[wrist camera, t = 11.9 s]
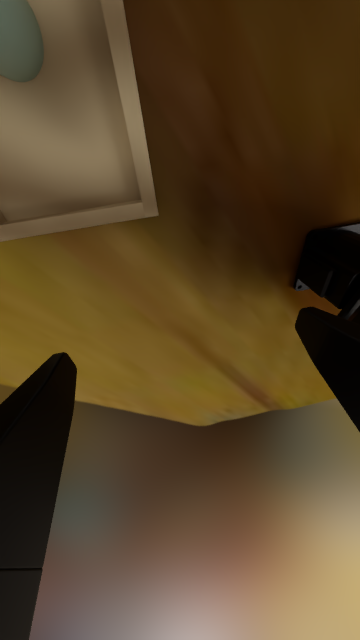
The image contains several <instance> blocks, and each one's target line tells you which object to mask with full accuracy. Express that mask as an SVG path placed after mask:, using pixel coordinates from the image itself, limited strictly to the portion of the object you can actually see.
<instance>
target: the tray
mask: <svg viewBox="0 0 360 640" xmlns="http://www.w3.org/2000/svg"><path fill="white" fill-rule="evenodd" d="M27 2H28V3H29V5H30V7H31V8H32V10H33V12H34V15H35V17H36V19H37V22H38V24H39V27H40V31H41V34H42V39H43V46H44V58H43V64H42V67H41V70H40V72H39V73H38V75H37V76H36V77H35V78H34V79H32V80H30V81H27V82H16V81H13V80H10V79H8V78H6V77H4V76H2V75H0V241H6V240H12V239H19V238H25V237H31V236H37V235H43V234H49V233H55V232H61V231H67V230H73V229H79V228H86V227H92V226H98V225H104V224H110V223H116V222H122V221H128V220H134V219H140V218H147V217H153V216H159V214H158V208H157V202H156V196H155V190H154V184H153V178H152V172H151V167H150V161H149V155H148V149H147V143H146V137H145V131H144V125H143V119H142V113H141V107H140V101H139V95H138V89H137V83H136V77H135V71H134V65H133V59H132V53H131V47H130V41H129V35H128V29H127V23H126V17H125V11H124V5H123V0H27Z"/></svg>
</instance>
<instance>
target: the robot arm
mask: <svg viewBox="0 0 360 640" xmlns="http://www.w3.org/2000/svg"><path fill="white" fill-rule="evenodd" d="M313 235H314V237H313ZM312 237H313V238H312ZM299 285H300V286H299ZM298 286H299V287H298ZM293 288H294V289H295V290H296V291H301V290H306V289H311V290H312V291H314V292H315V293H316V294H317V295H319V296H320V297H324V298H325V299H327V300H328V301H329V302H331V303H332V304H333V305H334V306H336V307H337V308H338V309H342V310H341V311H340V313H339V314H338V315H337V316H336V315H333V314H331V313H328V312H325V311H323V310H320V309H317V308H315V307H307V308H302V309H301V310H300V311H299V314H298V317H297V320H296V323H295V329H296V331H297V333H298V335H299V337H300V339H301V341H302V343H303V345H304V347H305V348H306V350H307V352H308V354H309V356H310V358H311V360H312V361H313V363H314V365H315V366H316V368H317V369H318V371H319V372H320V374H321V375H322V377H323V378H324V380H325V381H326V383H327V384H328V386H329V387H330V389H331V390H332V392H333V393H334V395H335V396H336V398H337V399H338V401H339V402H340V404H341V405H342V407H343V408H344V410H345V411H346V413H347V414H348V415H349V417H350V419H351V420H352V421H353V423H354V424H355V426H356V427H357V429H358V430H359V432H360V222H358V223H352V224H346V225H341V226H335V227H329V228H323V229H317V230H313V231H311V232H309V234H308V235H307V238H306V242H305V246H304V249H303V253H302V256H301V260H300V264H299V267H298V271H297V275H296V279H295V282H294V286H293ZM76 377H77V368H76V365H75V364H74V362H73V361H72V360H71V358H70V357H69V355H68V354H67V353H65V352H62V353H57V354H53V355H52V356H51V357H50V358H49V359H48V360H47V361H46V362H44V363H43V364H42V365H41V366H40V367H39V368H38V369H37V370H36V371H35V372H34V373H33V374H32V375H31V376H30V377H29V378H28V379H27V380H26V381H25V382H23V383H22V384H21V385H20V386H19V387H18V388H17V389H16V390H15V391H14V392H13V393H12V394H11V395H10V396H9V397H8V398H7V399H6V400H5V401H3V402H2V404H0V640H29V636H30V631H31V626H32V621H33V615H34V610H35V605H36V600H37V595H38V590H39V585H40V580H41V575H42V567H43V564H44V558H45V553H46V548H47V543H48V538H49V533H50V528H51V523H52V518H53V513H54V508H55V502H56V497H57V492H58V487H59V482H60V477H61V472H62V467H63V462H64V457H65V452H66V447H67V442H68V437H69V431H70V427H71V421H72V416H73V410H74V401H75V389H76Z"/></svg>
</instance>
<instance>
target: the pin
mask: <svg viewBox="0 0 360 640" xmlns="http://www.w3.org/2000/svg"><path fill="white" fill-rule="evenodd" d="M43 58H44V46H43V39H42V34H41V31H40V27H39V24H38V22H37V19H36V17H35V15H34V12H33V10H32V8H31V7H30V5H29V3H28V2H27V0H0V75H2V76H4V77H6V78H8V79H10V80H13V81H16V82H27V81H30V80H32V79H34V78H35V77H36V76H37V75H38V73H39V72H40V70H41V67H42V64H43Z"/></svg>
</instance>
